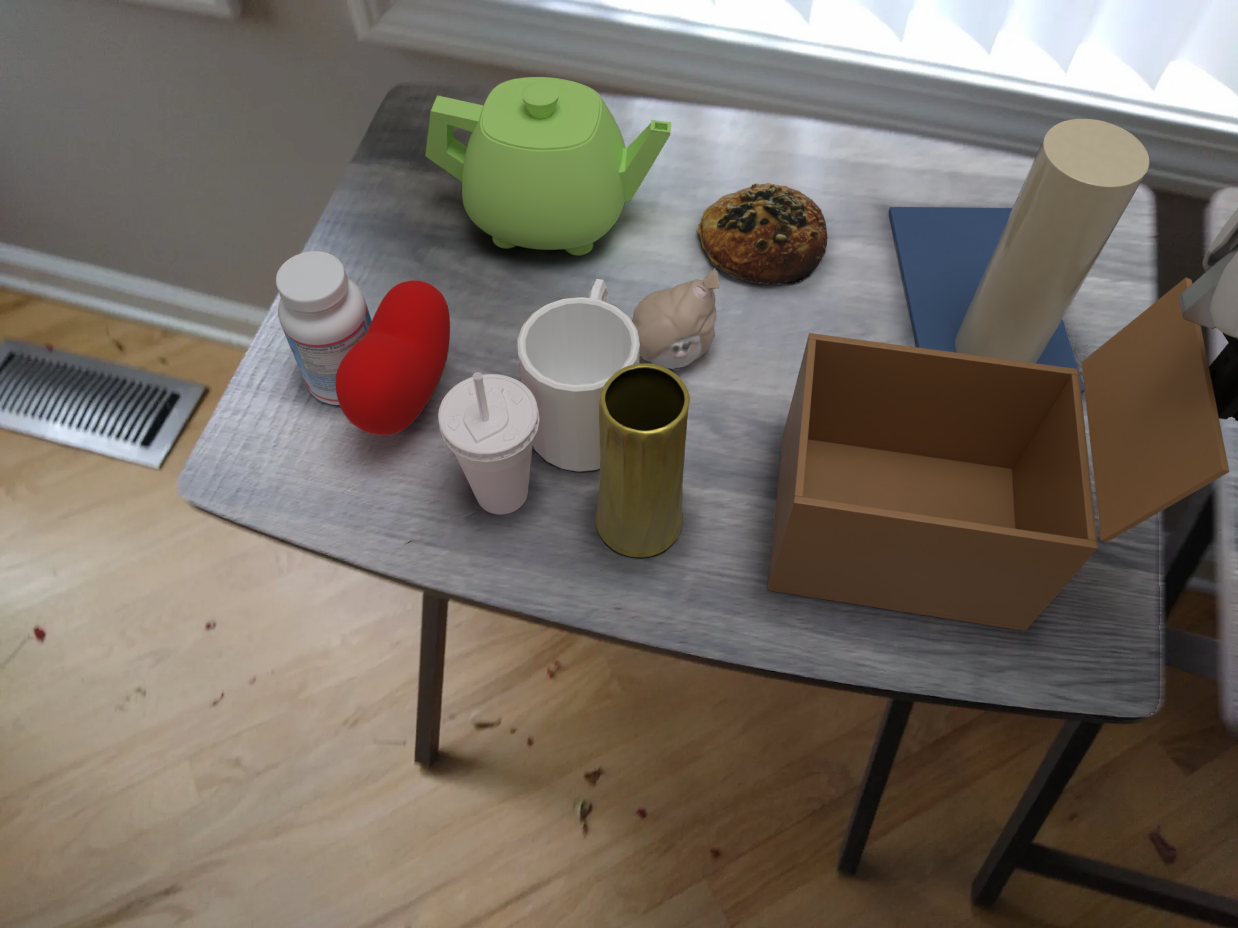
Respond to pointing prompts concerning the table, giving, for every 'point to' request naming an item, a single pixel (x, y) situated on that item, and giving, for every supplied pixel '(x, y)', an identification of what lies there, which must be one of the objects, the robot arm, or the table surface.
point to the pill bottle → (320, 317)
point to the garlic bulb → (677, 322)
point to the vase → (641, 459)
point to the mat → (953, 272)
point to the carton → (932, 482)
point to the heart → (396, 360)
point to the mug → (574, 372)
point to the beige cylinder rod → (1052, 238)
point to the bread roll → (765, 234)
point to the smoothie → (492, 437)
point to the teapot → (542, 162)
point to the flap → (1151, 416)
